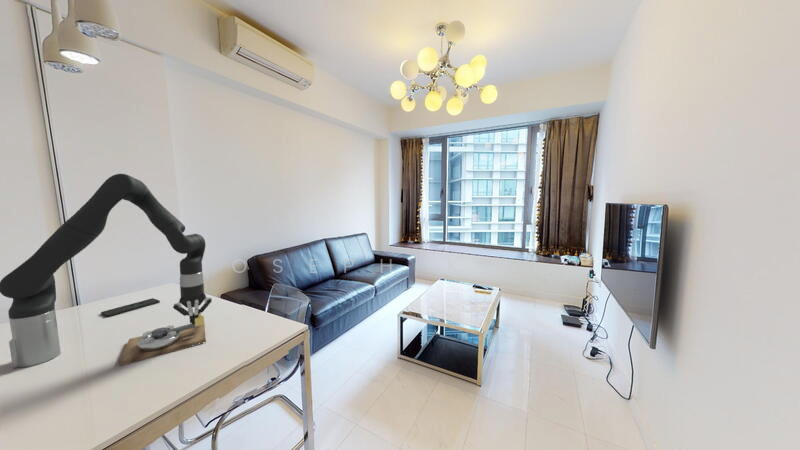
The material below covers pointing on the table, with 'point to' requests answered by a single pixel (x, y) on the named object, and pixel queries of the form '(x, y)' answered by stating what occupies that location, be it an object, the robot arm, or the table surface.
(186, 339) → the base plate
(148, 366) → the table surface
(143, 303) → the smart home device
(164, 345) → the silver rotary lever
